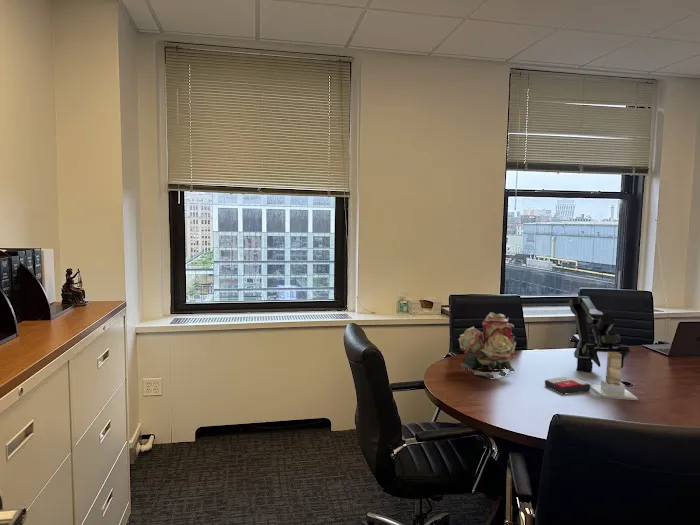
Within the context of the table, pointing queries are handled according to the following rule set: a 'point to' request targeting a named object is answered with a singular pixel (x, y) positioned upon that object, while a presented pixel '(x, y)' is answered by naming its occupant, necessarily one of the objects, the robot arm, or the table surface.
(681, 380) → the table surface
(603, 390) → the sleeve stand
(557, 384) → the calculator
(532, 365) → the table surface
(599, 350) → the robot arm
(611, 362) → the column
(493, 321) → the rose bouquet
